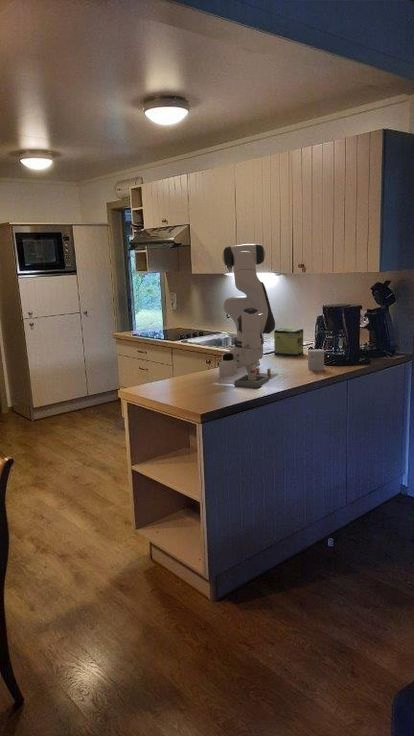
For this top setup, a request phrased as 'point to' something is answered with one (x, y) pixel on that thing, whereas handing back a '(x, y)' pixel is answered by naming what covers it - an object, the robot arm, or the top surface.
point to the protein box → (288, 342)
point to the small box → (316, 359)
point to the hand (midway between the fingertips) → (251, 371)
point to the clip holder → (266, 373)
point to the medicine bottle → (227, 365)
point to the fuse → (253, 374)
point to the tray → (251, 382)
